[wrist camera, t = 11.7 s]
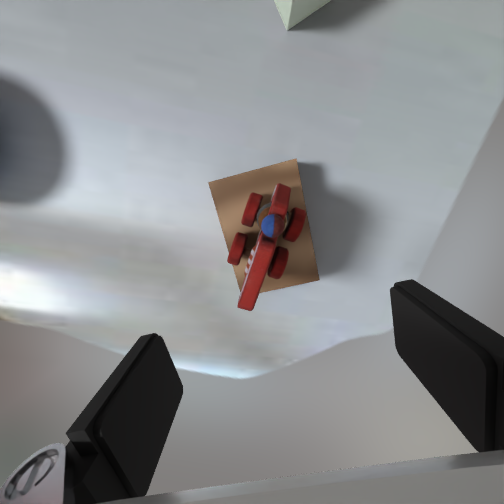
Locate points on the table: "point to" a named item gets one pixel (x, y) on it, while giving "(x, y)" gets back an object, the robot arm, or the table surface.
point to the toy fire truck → (265, 241)
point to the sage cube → (297, 10)
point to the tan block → (230, 215)
